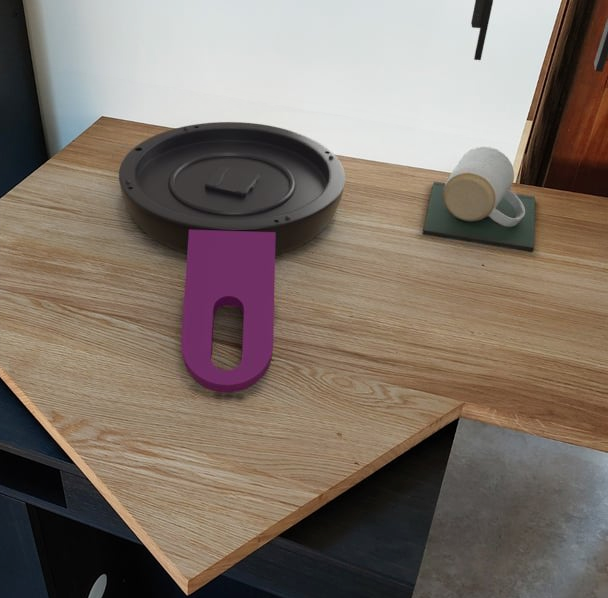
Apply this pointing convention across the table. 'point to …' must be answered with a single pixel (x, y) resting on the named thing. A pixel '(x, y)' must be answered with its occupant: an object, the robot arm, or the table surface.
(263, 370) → the mounting bracket
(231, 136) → the round tray
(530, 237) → the mat
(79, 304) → the table surface
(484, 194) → the ceramic mug
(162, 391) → the table surface
